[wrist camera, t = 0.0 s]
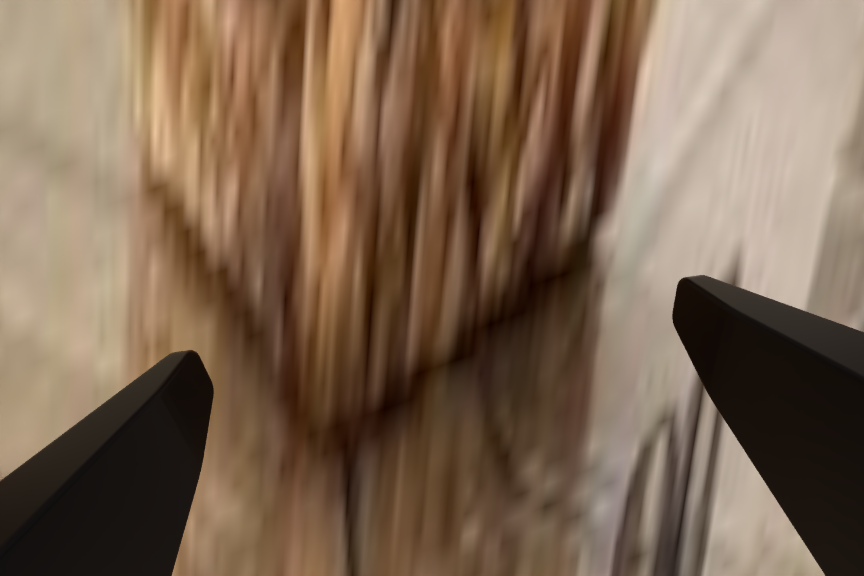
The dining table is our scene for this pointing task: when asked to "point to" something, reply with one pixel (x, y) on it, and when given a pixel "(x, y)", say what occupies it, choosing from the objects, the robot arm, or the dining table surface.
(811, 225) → the dining table surface
